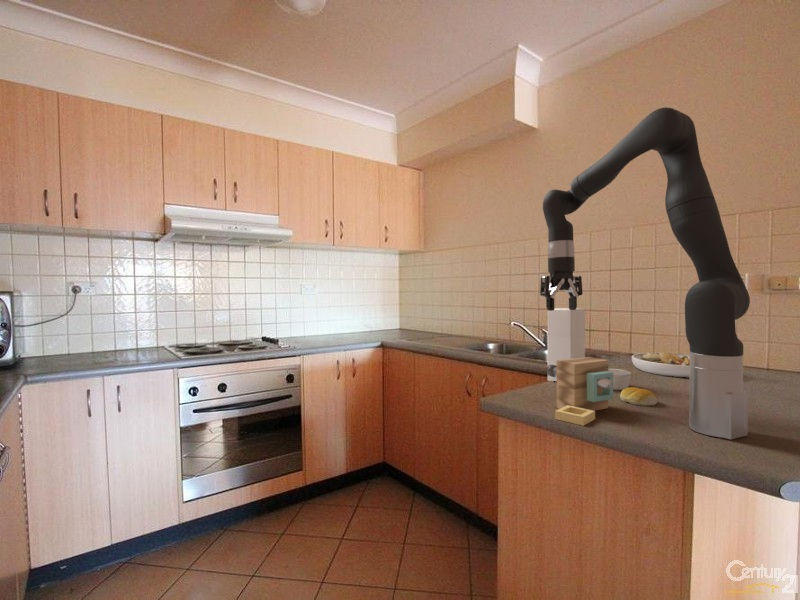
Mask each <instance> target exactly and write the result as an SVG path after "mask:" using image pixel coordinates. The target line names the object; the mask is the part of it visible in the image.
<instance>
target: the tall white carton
mask: <svg viewBox="0 0 800 600" xmlns="http://www.w3.org/2000/svg"><path fill="white" fill-rule="evenodd" d="M584 357H586V309H585V308H583V307H582V308H581V307H579V308H576V310H569V307H554V311H548V310H547V367H548V366H549V365H556V366H557V360H564V359H574V358H584ZM551 381H557V376H556V377H551V376H549V375H548V374H547V382H551Z"/></svg>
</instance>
